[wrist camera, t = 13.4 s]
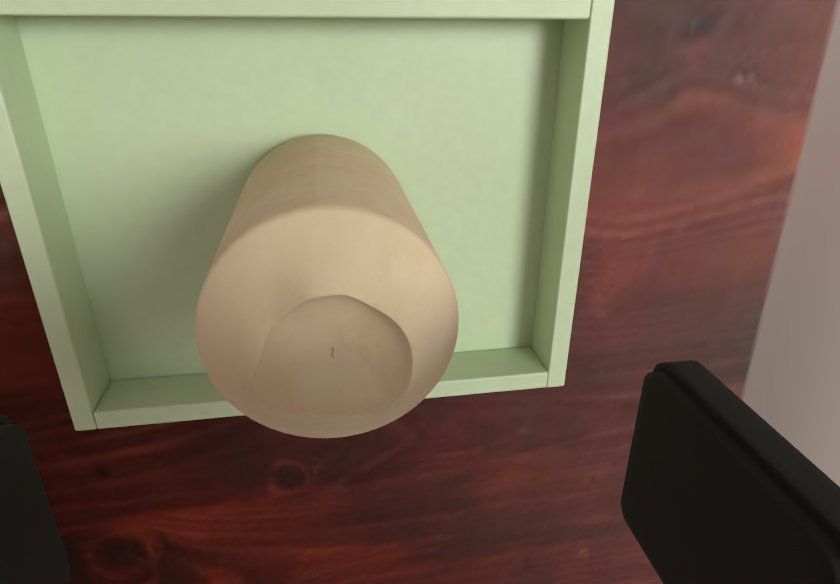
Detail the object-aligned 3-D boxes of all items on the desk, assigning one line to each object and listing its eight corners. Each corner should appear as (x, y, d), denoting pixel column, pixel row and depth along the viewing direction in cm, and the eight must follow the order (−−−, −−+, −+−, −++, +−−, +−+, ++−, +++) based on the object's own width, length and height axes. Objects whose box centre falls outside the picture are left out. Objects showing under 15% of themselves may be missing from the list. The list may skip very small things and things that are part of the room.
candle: (255, 295, 21) (212, 503, 12) (227, 138, 18) (145, 249, 9) (408, 278, 21) (476, 463, 13) (399, 126, 19) (476, 218, 10)
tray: (579, -5, 19) (616, -8, 17) (540, 351, 25) (564, 386, 22) (-9, -13, 16) (-62, -18, 14) (100, 388, 22) (74, 431, 20)
